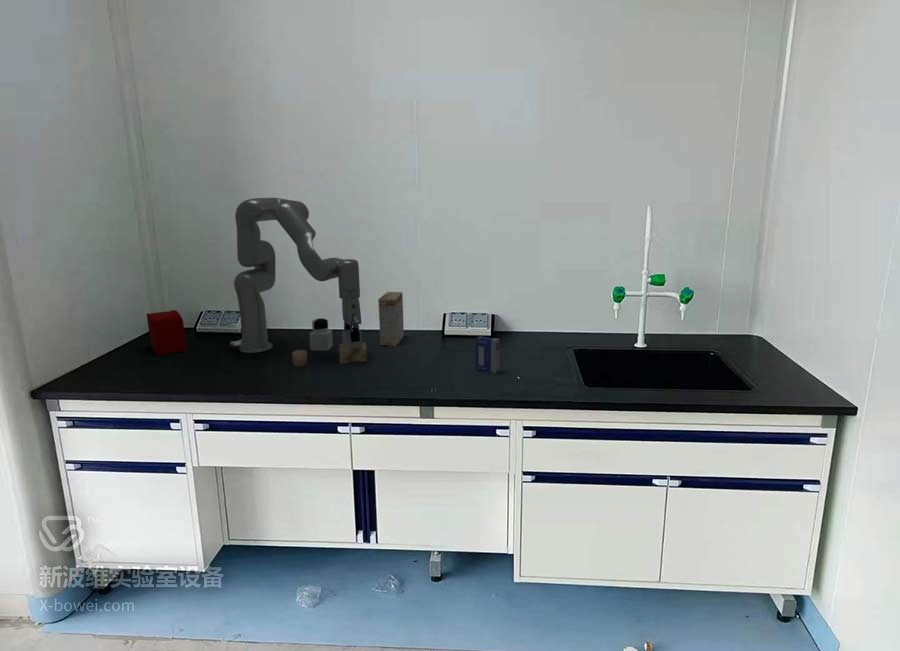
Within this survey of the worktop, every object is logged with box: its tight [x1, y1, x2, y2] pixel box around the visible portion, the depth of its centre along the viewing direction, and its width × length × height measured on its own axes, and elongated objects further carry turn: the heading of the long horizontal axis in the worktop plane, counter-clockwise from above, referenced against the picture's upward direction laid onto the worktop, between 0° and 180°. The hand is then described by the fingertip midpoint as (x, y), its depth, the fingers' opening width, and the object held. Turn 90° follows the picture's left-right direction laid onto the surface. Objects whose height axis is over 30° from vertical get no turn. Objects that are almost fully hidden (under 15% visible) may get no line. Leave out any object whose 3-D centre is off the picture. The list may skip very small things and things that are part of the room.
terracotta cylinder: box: [291, 349, 308, 368], centre depth 208 cm, size 5×5×5 cm
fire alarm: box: [146, 309, 187, 356], centre depth 229 cm, size 16×11×15 cm
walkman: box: [475, 335, 500, 374], centre depth 199 cm, size 8×3×12 cm, turn 60°
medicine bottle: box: [308, 317, 334, 352], centre depth 228 cm, size 7×7×12 cm
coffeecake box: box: [377, 291, 405, 347], centre depth 236 cm, size 15×7×20 cm, turn 172°
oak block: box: [338, 341, 368, 364], centre depth 215 cm, size 10×10×5 cm
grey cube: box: [341, 329, 363, 349], centre depth 214 cm, size 6×6×6 cm
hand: (352, 338), depth 214 cm, fingers open, 9 cm apart
